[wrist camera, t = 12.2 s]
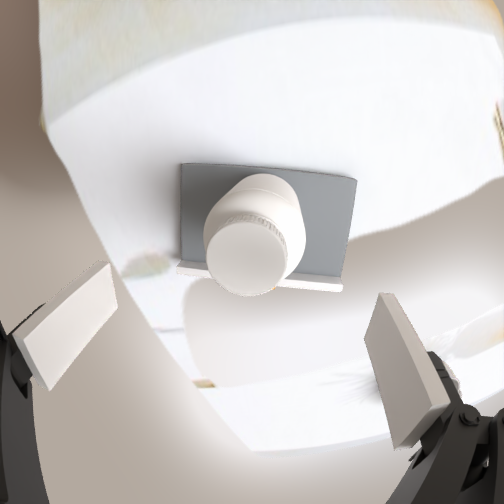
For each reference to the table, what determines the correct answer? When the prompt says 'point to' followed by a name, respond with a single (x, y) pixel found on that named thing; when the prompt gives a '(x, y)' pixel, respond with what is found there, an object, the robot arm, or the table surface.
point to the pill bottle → (254, 235)
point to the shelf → (312, 209)
